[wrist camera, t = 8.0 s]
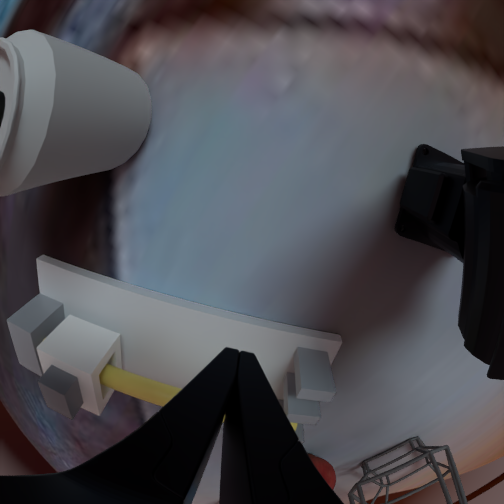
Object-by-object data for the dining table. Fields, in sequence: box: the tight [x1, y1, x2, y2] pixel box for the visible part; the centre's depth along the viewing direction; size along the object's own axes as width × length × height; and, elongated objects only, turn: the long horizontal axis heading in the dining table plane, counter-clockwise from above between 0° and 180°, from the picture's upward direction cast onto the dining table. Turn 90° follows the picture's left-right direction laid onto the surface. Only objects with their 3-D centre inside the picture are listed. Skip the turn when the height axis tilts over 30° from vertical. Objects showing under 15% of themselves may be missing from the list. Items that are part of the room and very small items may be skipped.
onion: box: [308, 454, 336, 490], centre depth 24 cm, size 6×6×8 cm
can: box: [0, 30, 152, 196], centre depth 11 cm, size 8×8×12 cm
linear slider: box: [7, 255, 342, 444], centre depth 21 cm, size 26×12×6 cm, turn 77°
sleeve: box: [36, 315, 122, 420], centre depth 18 cm, size 5×5×7 cm
